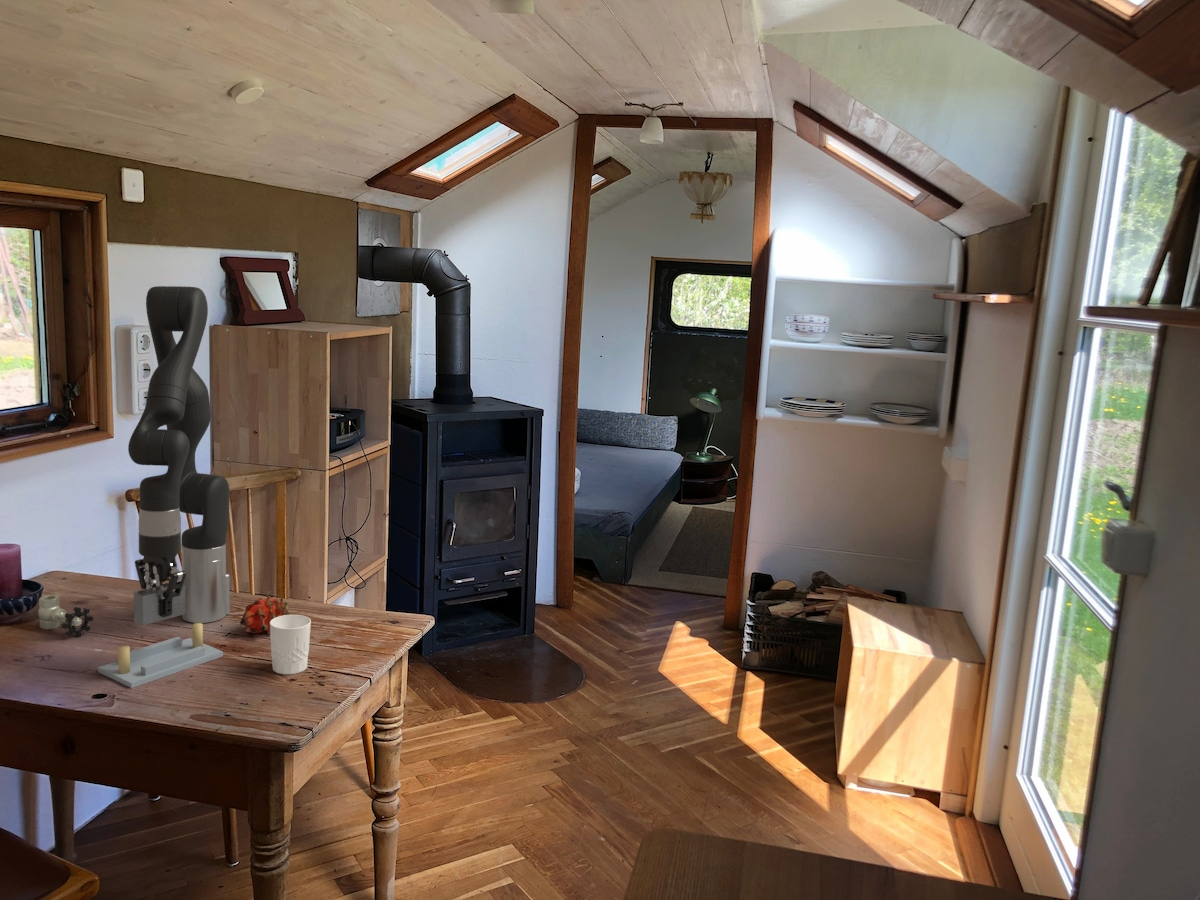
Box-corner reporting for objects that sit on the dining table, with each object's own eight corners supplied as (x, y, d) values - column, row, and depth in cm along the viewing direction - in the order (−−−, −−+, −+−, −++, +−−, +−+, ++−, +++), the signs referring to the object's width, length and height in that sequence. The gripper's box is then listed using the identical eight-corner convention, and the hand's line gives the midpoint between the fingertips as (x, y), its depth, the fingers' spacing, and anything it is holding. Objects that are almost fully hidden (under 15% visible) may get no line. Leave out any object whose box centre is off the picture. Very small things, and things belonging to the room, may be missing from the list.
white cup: (268, 662, 193) (268, 616, 191) (307, 658, 196) (308, 613, 194) (270, 677, 186) (271, 630, 184) (312, 673, 189) (313, 627, 187)
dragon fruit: (293, 631, 213) (245, 652, 205) (273, 603, 216) (225, 623, 207) (302, 610, 208) (253, 631, 199) (282, 581, 211) (233, 600, 202)
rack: (189, 642, 200) (189, 615, 199) (223, 656, 194) (222, 628, 193) (98, 672, 183) (97, 643, 182) (131, 688, 177) (131, 658, 176)
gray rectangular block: (175, 610, 191) (176, 582, 190) (185, 614, 189) (185, 585, 188) (134, 621, 183) (133, 592, 182) (143, 625, 182) (143, 595, 181)
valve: (29, 628, 201) (64, 642, 195) (27, 599, 200) (63, 612, 194) (58, 620, 207) (94, 632, 201) (57, 591, 205) (93, 603, 200)
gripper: (199, 533, 183) (199, 617, 186) (156, 519, 190) (156, 600, 193) (163, 540, 177) (164, 627, 180) (120, 526, 184) (121, 610, 187)
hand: (160, 613), depth 186 cm, fingers closed on gray rectangular block, 3 cm apart
